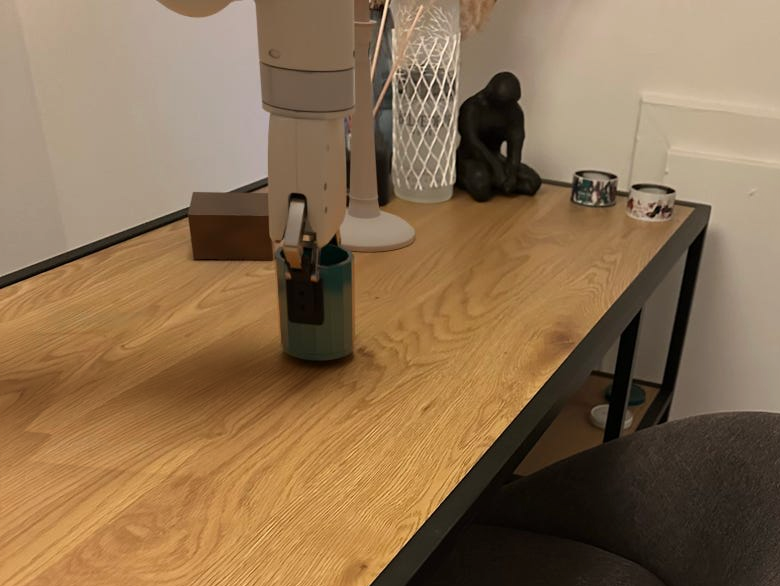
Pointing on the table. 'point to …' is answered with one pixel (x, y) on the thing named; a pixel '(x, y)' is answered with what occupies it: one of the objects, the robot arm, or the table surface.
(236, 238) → the block
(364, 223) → the candlestick
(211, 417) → the table surface
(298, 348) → the cup
